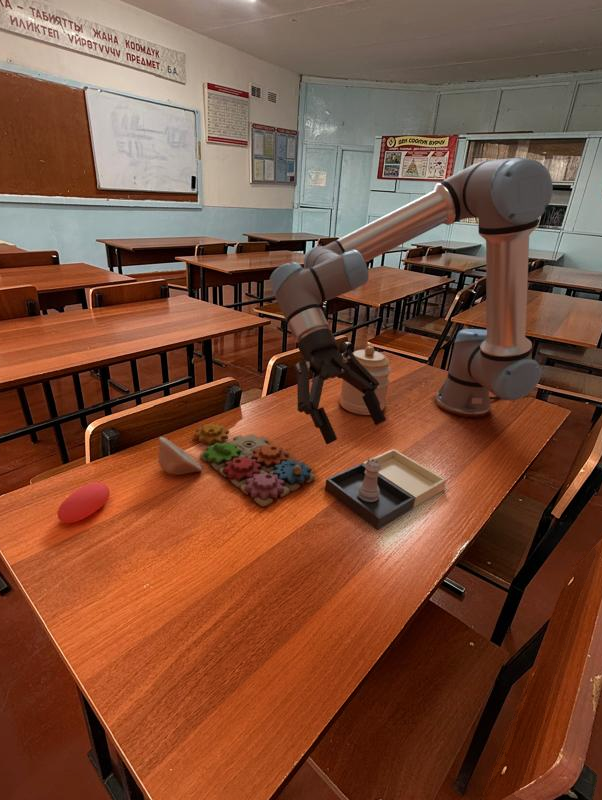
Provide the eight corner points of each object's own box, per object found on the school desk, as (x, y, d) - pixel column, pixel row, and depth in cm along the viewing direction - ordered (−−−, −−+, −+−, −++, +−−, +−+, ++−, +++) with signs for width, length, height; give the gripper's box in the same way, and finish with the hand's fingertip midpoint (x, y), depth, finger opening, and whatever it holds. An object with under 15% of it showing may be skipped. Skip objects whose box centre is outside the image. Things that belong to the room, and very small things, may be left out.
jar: (331, 398, 127) (337, 340, 119) (368, 393, 132) (377, 337, 125) (353, 419, 116) (362, 356, 109) (393, 412, 122) (404, 352, 114)
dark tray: (360, 472, 94) (361, 462, 93) (412, 508, 84) (415, 498, 83) (324, 489, 88) (326, 478, 87) (377, 529, 78) (379, 518, 77)
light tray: (391, 457, 100) (393, 448, 99) (444, 489, 91) (446, 479, 90) (361, 472, 94) (362, 462, 93) (413, 507, 84) (416, 497, 83)
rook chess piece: (378, 505, 84) (385, 471, 80) (355, 501, 84) (360, 466, 81) (379, 491, 88) (386, 458, 84) (357, 487, 88) (362, 454, 85)
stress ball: (119, 516, 78) (119, 480, 79) (70, 526, 70) (70, 487, 71) (101, 514, 81) (101, 479, 81) (52, 524, 73) (52, 485, 73)
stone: (209, 465, 94) (210, 447, 86) (192, 492, 90) (191, 476, 82) (167, 442, 94) (164, 422, 86) (148, 469, 91) (143, 451, 82)
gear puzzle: (175, 440, 100) (174, 425, 98) (233, 420, 110) (233, 406, 109) (261, 510, 80) (262, 492, 79) (322, 478, 91) (323, 461, 89)
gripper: (346, 336, 98) (387, 421, 95) (253, 354, 83) (298, 457, 80) (366, 319, 93) (410, 409, 89) (271, 335, 77) (319, 445, 74)
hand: (357, 432), depth 84 cm, fingers open, 13 cm apart
